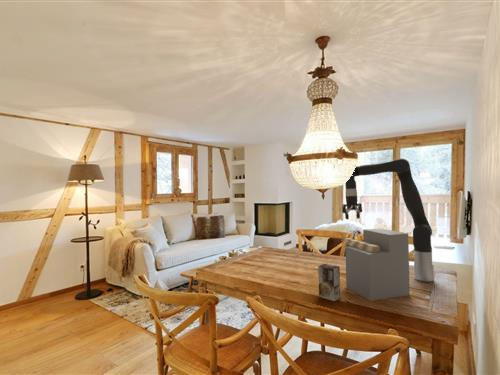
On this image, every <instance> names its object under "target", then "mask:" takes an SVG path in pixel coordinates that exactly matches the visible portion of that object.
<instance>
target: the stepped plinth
mask: <svg viewBox="0 0 500 375" xmlns="http://www.w3.org/2000/svg"><path fill="white" fill-rule="evenodd" d="M362 231H363V232H362V237H363V240H362V242H366V243H370V244H373V245H377V246H379V248H380V252H379V253H373V252H370V251H366V250H363V249H360V248H357V247H353V246H350V245H347V246H345V285H346V286H345V288H346V289H347V290H350V291H352V292H354V293H355V294H357V295H359V296H361V297H362V298H364V299H366V300H368V301H370V302H373V301H374V302H375V301H380V300H385V299H387V300H388V299H392V298H397V297H398V298H400V297H406V296H410V295H411V294H410V293H411V291H410V251H409V250H410V248H409V247H410V244H409V233H408V232H403V231H397V230H393V229H392V230H391V229H386V228H367V229H365V228H364V229H362Z"/></svg>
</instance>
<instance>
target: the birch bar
mask: <svg viewBox="0 0 500 375" xmlns="http://www.w3.org/2000/svg"><path fill="white" fill-rule="evenodd" d="M341 244H345V245H347V246H353V247H357V248H360V249H363V250H366V251H370V252H373V253H379V252H380V248H379V246H377V245H373V244H370V243H366V242H363V240H362V241H361V240H357V239H354V238H350V237H348V236H342V237H341Z"/></svg>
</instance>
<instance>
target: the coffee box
mask: <svg viewBox="0 0 500 375" xmlns="http://www.w3.org/2000/svg"><path fill="white" fill-rule="evenodd" d="M317 270H318V272H317V273H318V297H319V298H322V299H326V300H328V301H332V302H336V301H338V300H340V299H341V278H340V277H341V276H340V274H341V272H340V266H338V265H332V264H327V263H323V264H320V265H318V268H317ZM339 298H340V299H339Z"/></svg>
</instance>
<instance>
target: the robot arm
mask: <svg viewBox="0 0 500 375" xmlns="http://www.w3.org/2000/svg"><path fill="white" fill-rule="evenodd" d="M355 167H356V168H355V170H354V171H355V172H353V174H352V175H353V176H351V177H350V179H349V180H348V181H347V182H346V183H344V184H345V191H344V192H345V202H346V203H345V204H344V203H343V204H342V205H341V211H342V212H341V214H344V216H345V219H346V220H350V218H349V217H350V215H349V212H351V211H355V213H356V219H360V217H361V213H362V212H363V207H362V206H363V204H362V203H359V202H358V201H359V200H358V189H357V181H356V179H355V178H356V177H360V176H371V175H377V174H383V173H395V174H396V175H397V178H398V180H399V183H400V189H401V190H400V192H401V194H402V199H403V202H404V206H405V207H406V209H407V211H408V212H409V214H410V215H411V218H412V220H413V225H414V228H413V229H412V245H413V258H414V259H413V261H414V262H413V263H414V279H415V280H416V281H420V282H426V283H427V282H434V281H435V276H434V275H435V274H434V273H435V271H434V270H435V268H434V264H433V247H432V235H433V229H432V227H431V224H430V222H429V221H428V218H427V216H426V212H425V209H424V205H423V200H422V198H421V197H422V196H421V195H420V192H419V189H418V187H417V185H416V183H415V181H414V179H413V176H412V171H411V164H410V162H409V160H407V159H406V158H397V159H393V160H391V161H386V162H381V163H371V164H370V163H369V164H362V165H361V164H360V165H358V166H355Z"/></svg>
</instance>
